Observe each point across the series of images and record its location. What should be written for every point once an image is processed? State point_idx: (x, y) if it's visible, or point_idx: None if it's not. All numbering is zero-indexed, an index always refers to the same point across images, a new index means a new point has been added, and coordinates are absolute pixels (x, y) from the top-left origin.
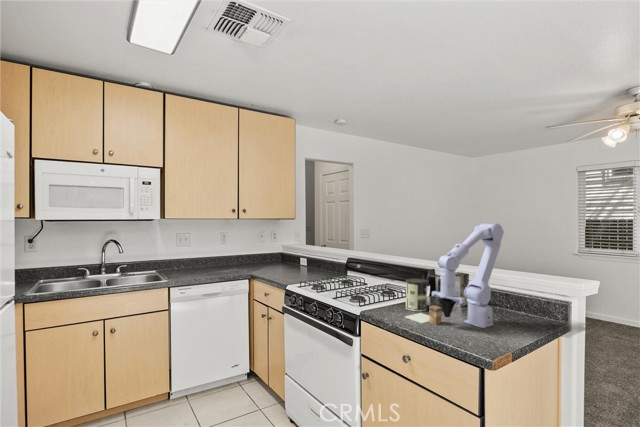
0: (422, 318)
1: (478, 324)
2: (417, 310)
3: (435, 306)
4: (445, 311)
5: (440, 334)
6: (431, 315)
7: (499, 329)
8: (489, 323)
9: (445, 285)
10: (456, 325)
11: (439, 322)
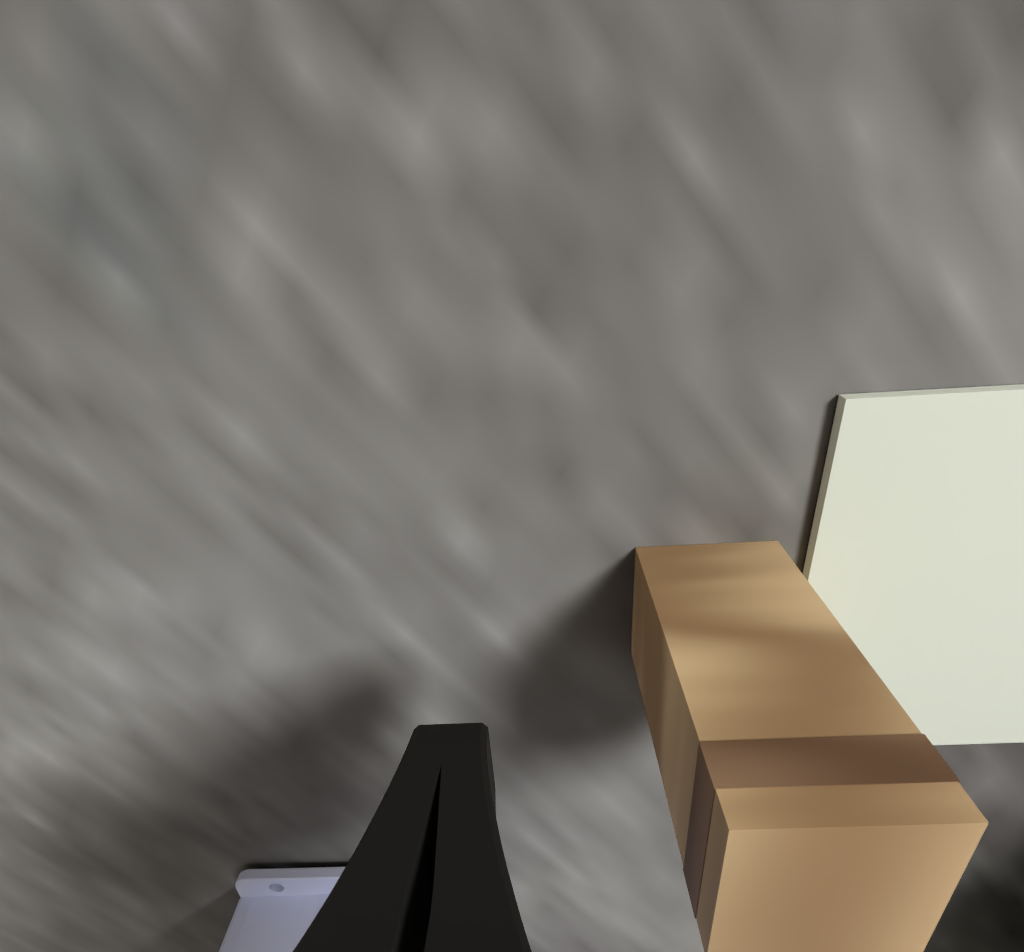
0: (965, 582)
1: (313, 903)
2: None
3: (858, 924)
4: (414, 841)
5: (234, 233)
6: (791, 642)
7: (180, 939)
8: None
9: None
10: None
11: (636, 638)
